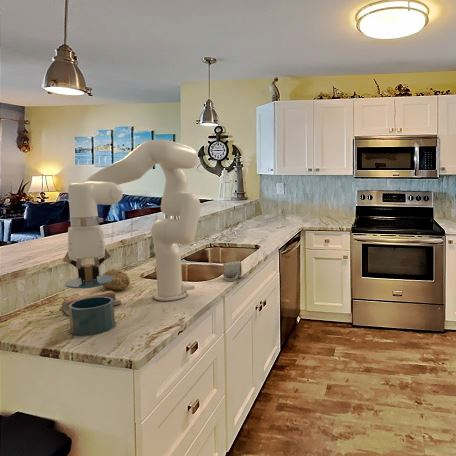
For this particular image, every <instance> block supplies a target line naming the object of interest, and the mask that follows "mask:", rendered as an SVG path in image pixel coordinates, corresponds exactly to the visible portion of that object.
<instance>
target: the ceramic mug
mask: <svg viewBox="0 0 456 456" xmlns="http://www.w3.org/2000/svg"><path fill="white" fill-rule="evenodd" d="M242 273H243V271H242V262H241V261H230V262H224V263H223V265H222V275H223V277H224V280H226V281H227V282H234V281H236V280H237V279H241V278H242Z"/></svg>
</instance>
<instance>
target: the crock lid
mask: <svg viewBox="0 0 456 456" xmlns="http://www.w3.org/2000/svg"><path fill="white" fill-rule="evenodd" d="M82 267H83V275H84V280H83V281H81V278H79V277H78V276H77V277H74V278H70V279H69V280H66V281H65V282H64V287H65V288H68V289H92V288H98V287H101V286H102V285H105V284H108V283H110V282H112V281H113V277H111V276H107V275H103V274H99V276H97V280H95V279H94V264H91V263H89V264H83V265H82Z"/></svg>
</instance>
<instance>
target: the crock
mask: <svg viewBox="0 0 456 456" xmlns="http://www.w3.org/2000/svg"><path fill="white" fill-rule="evenodd" d="M68 317H69V326H70V333H71V334H73V335H74V336H75V335H76V336H91V335H97V334H102V333H105V332H107V331H110V330H112V329H113V328H115V326H116V319H115V318H116V317H115V305H114V303H113V298H110V297H90V298H85V299H80V300H77V301H74V302H72V303H71V304H69V315H68Z"/></svg>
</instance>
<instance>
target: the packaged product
mask: <svg viewBox="0 0 456 456" xmlns="http://www.w3.org/2000/svg"><path fill="white" fill-rule="evenodd" d="M90 297H110V298H113V303H114V306H117V305H121V304H122V300H121V299H119V298H116V293H115V292H114V291H113V290H106V291H105V290H104V291H99V292H94V293H88V294H83V295H78V296H72V297H68V298H67V297H66V298H63V301H62V303H61V306H60V309H61V310H62V311H63V312H64V313H65V314H66V315H68V316H69V304H71V303H72V302H74V301H77V300H80V299H85V298H90Z"/></svg>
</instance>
